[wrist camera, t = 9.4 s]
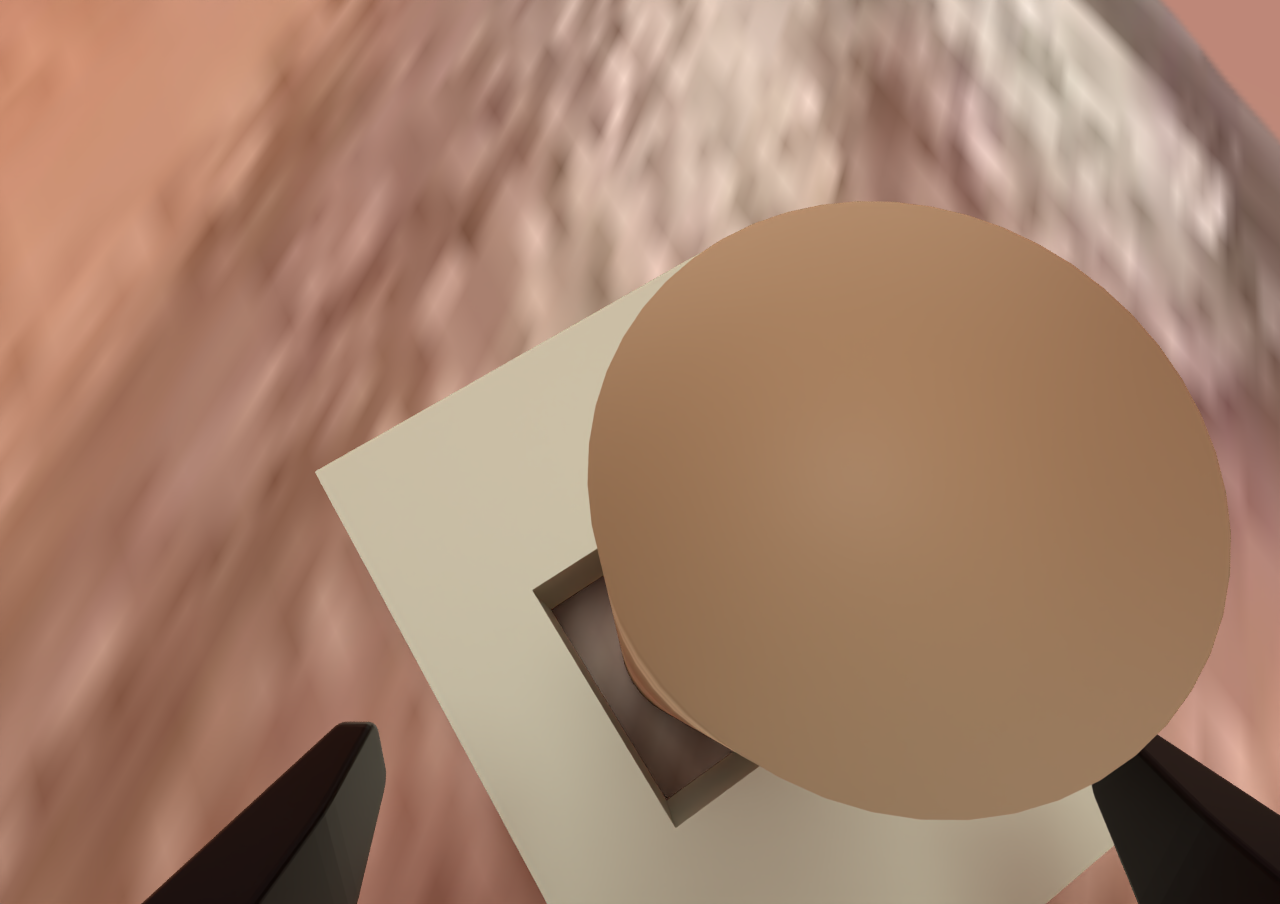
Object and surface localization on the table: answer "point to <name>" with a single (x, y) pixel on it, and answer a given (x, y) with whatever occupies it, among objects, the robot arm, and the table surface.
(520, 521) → the socket block
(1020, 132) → the table surface
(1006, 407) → the peg
